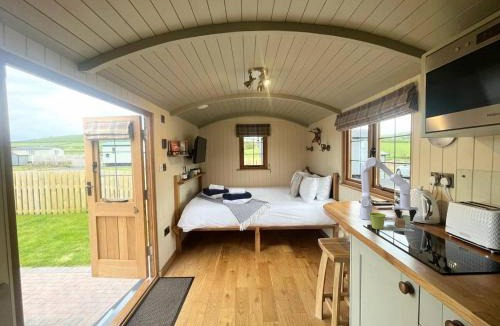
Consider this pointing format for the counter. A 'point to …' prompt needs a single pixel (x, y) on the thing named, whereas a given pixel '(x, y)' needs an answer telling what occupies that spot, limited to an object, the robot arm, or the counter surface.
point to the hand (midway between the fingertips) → (405, 221)
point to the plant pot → (377, 220)
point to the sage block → (406, 218)
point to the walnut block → (399, 223)
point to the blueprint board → (401, 228)
